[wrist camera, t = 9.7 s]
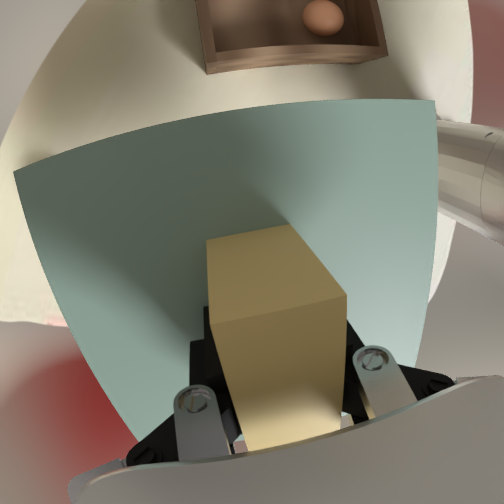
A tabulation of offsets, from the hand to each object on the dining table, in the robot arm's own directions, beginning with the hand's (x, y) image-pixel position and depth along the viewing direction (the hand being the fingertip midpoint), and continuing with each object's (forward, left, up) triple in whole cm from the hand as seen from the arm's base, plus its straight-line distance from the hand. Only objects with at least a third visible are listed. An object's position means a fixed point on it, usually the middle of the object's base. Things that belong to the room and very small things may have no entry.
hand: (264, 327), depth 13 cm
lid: (0, 0, -1) cm, 1 cm away
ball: (-12, -18, -21) cm, 29 cm away
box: (-8, -21, -21) cm, 31 cm away
